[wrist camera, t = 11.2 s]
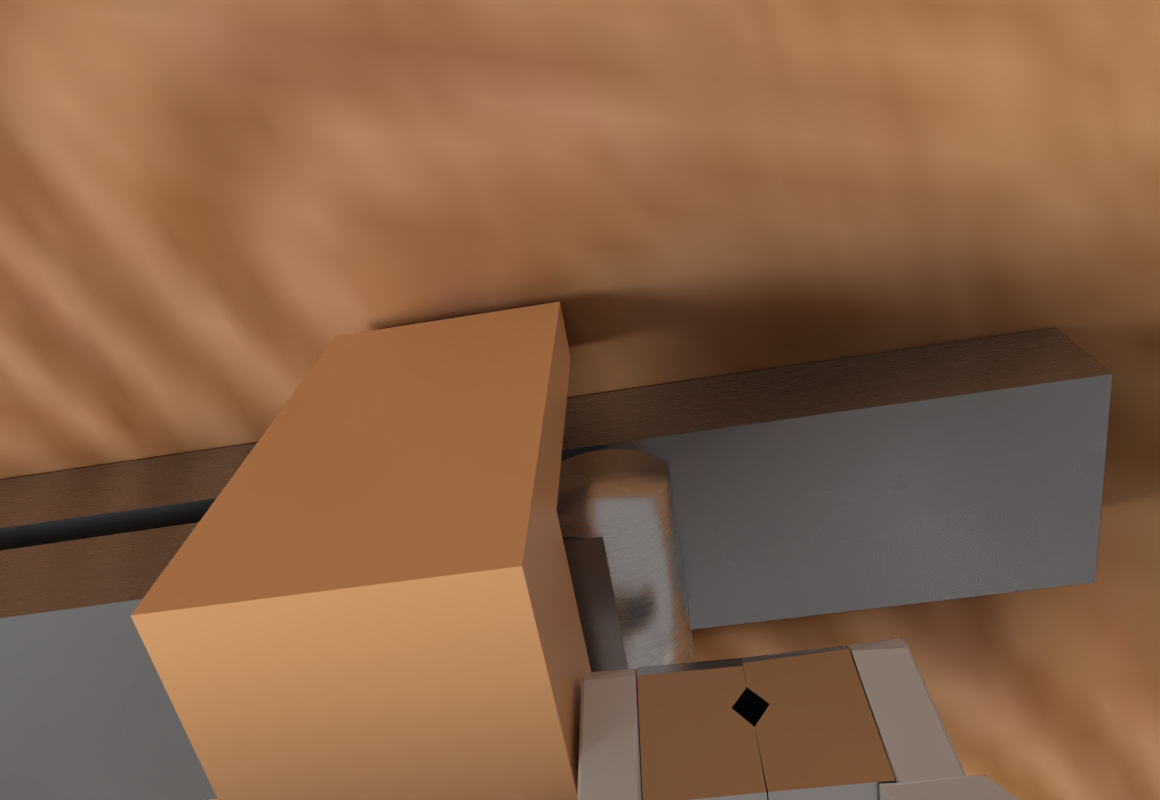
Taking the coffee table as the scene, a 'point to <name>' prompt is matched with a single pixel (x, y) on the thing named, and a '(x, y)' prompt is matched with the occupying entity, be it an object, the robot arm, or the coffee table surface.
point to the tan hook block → (388, 579)
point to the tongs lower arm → (779, 478)
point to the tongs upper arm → (140, 701)
